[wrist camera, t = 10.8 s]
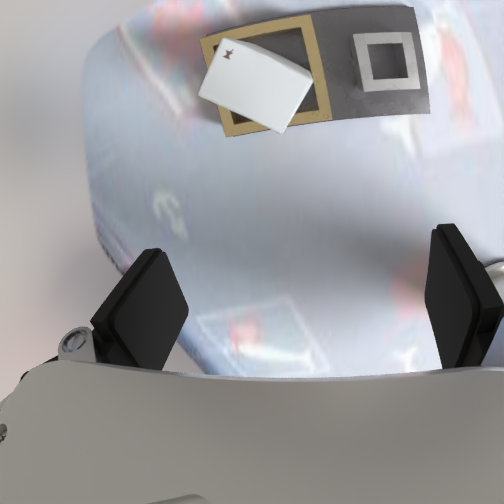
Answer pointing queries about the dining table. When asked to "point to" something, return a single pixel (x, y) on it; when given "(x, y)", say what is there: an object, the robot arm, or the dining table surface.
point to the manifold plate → (340, 63)
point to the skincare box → (255, 83)
